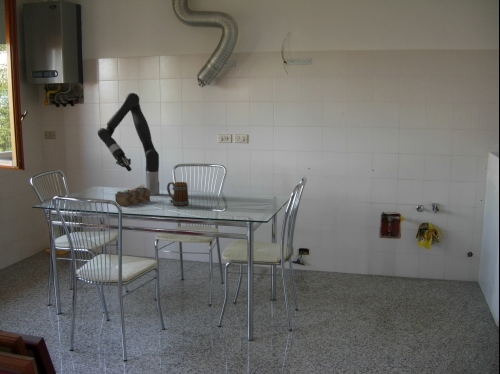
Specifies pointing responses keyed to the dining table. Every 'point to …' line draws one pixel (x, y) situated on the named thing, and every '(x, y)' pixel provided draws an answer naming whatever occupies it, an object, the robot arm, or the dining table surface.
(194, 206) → the dining table surface
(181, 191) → the mug
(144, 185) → the cream egg
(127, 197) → the wooden egg crate
